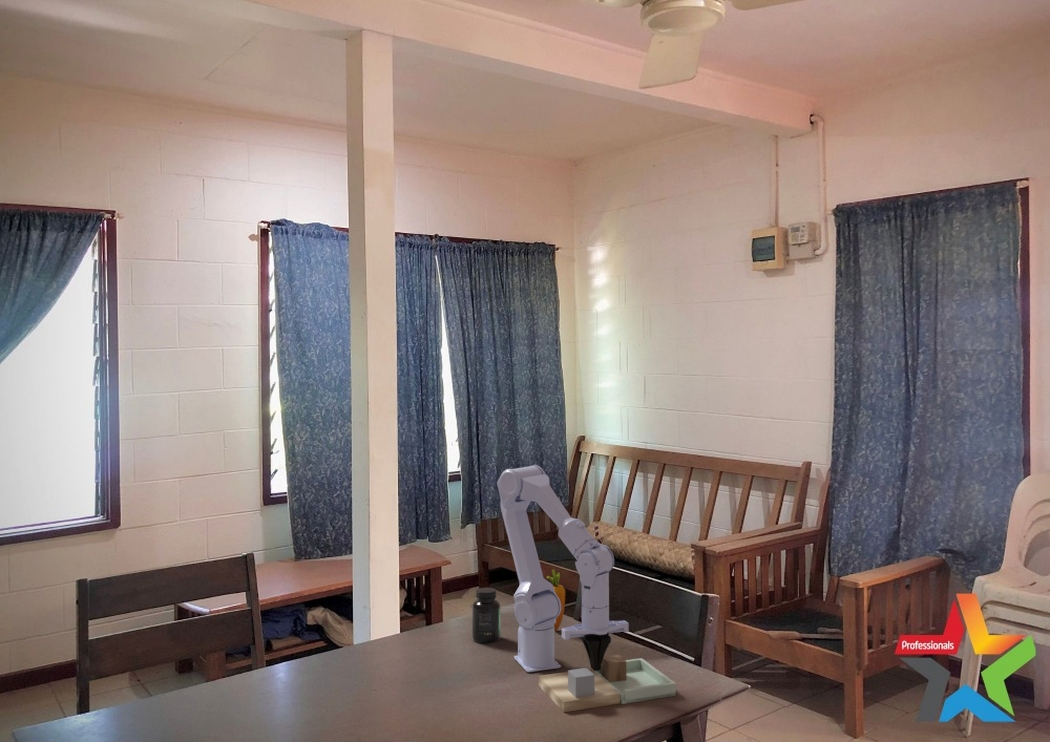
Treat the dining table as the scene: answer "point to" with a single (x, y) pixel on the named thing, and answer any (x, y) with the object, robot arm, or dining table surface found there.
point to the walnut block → (614, 668)
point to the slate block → (581, 682)
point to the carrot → (560, 593)
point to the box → (642, 683)
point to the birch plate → (567, 702)
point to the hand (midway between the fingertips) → (595, 668)
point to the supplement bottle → (486, 617)
